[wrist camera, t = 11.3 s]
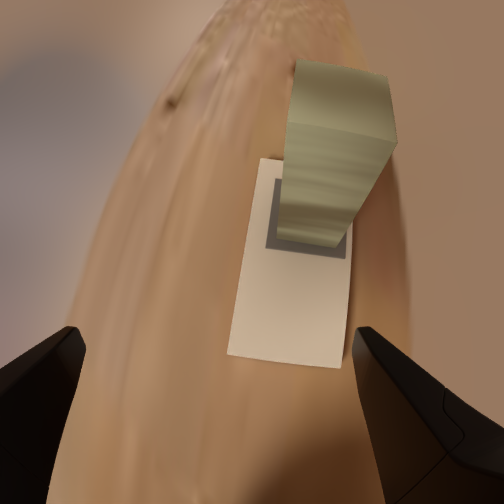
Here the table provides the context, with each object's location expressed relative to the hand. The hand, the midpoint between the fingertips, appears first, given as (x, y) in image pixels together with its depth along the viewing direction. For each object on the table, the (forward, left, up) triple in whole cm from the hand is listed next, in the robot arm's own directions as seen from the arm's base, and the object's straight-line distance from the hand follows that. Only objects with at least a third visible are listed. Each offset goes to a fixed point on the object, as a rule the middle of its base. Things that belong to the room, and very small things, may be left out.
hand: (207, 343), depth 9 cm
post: (+11, -4, -12) cm, 17 cm away
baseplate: (+8, -3, -14) cm, 16 cm away
